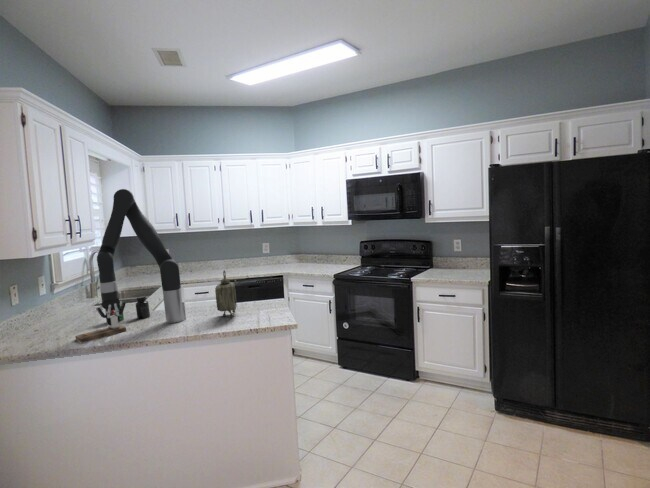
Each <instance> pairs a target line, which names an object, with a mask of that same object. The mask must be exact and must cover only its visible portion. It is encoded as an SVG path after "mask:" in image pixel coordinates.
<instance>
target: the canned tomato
mask: <svg viewBox="0 0 650 488" xmlns="http://www.w3.org/2000/svg"><path fill="white" fill-rule="evenodd" d="M120 302H123V300H120ZM117 308H118V312H119V309H120V304H119V306H118V307H117ZM113 315H115V313H114V311H113V310H112V311H110V316H113ZM115 316H116V315H115ZM119 319H120V322H119V323H121V322H124V320H125V318H124V312H123V313H122V314H120V315H119Z"/></svg>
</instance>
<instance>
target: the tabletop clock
mask: <svg viewBox="0 0 650 488" xmlns="http://www.w3.org/2000/svg"><path fill="white" fill-rule="evenodd" d="M222 274H223V279H221V281H220V283H219V284H217V285H216V286H215V290H214V292H215V303H216V309H217V311H219V312H223V313H222V316H223V317H226V315H227V314H226V312H228V313H229V314H230V318H232V319H233V318H234V313H236V309H237V307H238V306H237V305H238V304H237V293H236V284H235V282H234V281H233V282H232V281H231V280H230V279H228V278H227V276H226V274H227V273H226V270H225V269H224V270H223V272H222Z"/></svg>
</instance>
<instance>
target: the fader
mask: <svg viewBox="0 0 650 488" xmlns="http://www.w3.org/2000/svg"><path fill="white" fill-rule="evenodd" d="M110 319H111V325H108V327H109V328H111V329H116V328H120V327H119V326H118V325H119V323H118V318H117V316H115V315H113V316H110ZM108 327H107V328H108Z"/></svg>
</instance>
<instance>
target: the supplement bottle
mask: <svg viewBox="0 0 650 488" xmlns="http://www.w3.org/2000/svg"><path fill="white" fill-rule="evenodd" d="M135 311H136V318H137V319H138V320H143V319H147V318H150V317H151V311H150V303H149V301H148V300H147V297H146V296H145V295H143V296H138V297H136V303H135Z"/></svg>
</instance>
